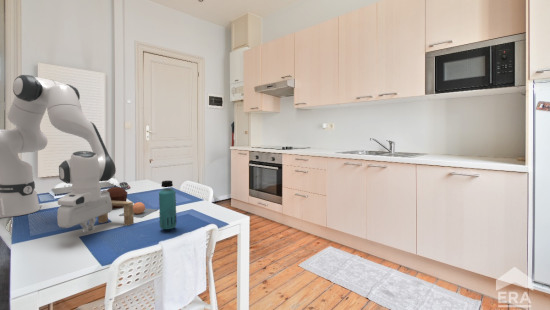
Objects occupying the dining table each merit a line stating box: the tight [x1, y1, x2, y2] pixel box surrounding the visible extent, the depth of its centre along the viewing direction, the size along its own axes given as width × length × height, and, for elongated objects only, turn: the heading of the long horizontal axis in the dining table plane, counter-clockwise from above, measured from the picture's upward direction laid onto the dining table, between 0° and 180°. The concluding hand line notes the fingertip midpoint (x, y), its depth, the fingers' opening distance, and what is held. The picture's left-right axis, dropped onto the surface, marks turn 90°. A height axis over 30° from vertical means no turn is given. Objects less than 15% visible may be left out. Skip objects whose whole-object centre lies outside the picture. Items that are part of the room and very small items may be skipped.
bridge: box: [97, 200, 135, 226], centre depth 112 cm, size 3×14×9 cm, turn 80°
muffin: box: [105, 186, 128, 210], centre depth 135 cm, size 12×11×10 cm
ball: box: [133, 201, 146, 214], centre depth 125 cm, size 6×6×6 cm
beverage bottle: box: [158, 180, 178, 230], centre depth 105 cm, size 6×7×20 cm
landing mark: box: [118, 207, 159, 218], centre depth 127 cm, size 12×12×1 cm
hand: (88, 230), depth 99 cm, fingers closed
